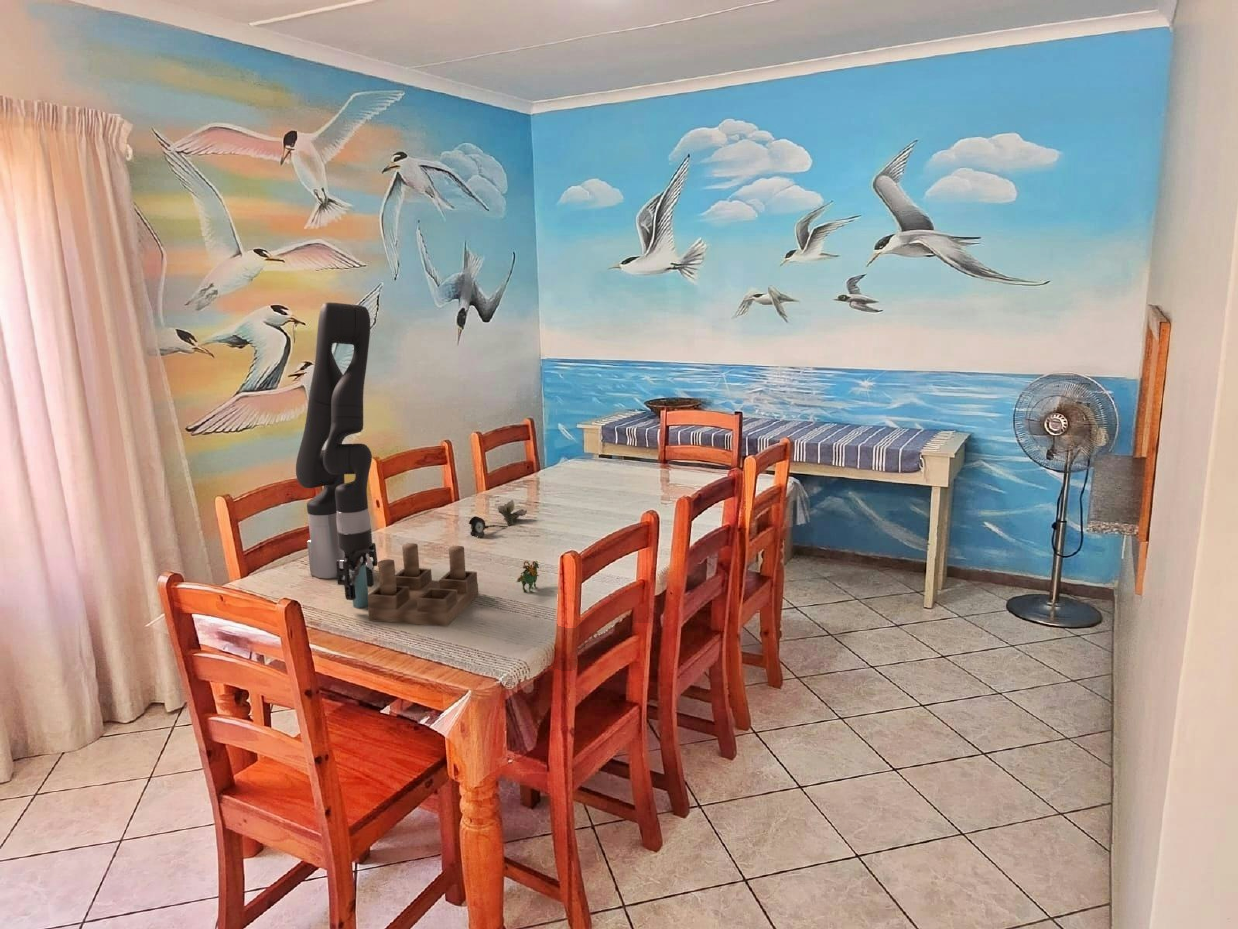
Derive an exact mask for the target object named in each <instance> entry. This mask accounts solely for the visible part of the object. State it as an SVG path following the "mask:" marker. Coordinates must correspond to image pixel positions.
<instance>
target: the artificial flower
mask: <svg viewBox="0 0 1238 929" xmlns="http://www.w3.org/2000/svg"><path fill="white" fill-rule="evenodd" d="M496 510H498V513H499V514H501V515H502V516H503V521H505V522H506V524H507V525H499V524H496V525H495V524H491V525H486V521H485V519H484V518H482V517H479V516H472V517H471V518H470V519H469V522H468V525H470V529H471V531H469V532H468V533H469V534H470V536H471V537H472V536H474V537H476V536H478V537H477V538H478V539H479V537H480V538H483V537H484V535H485V532H484V531H485V530H486V529H489V528H494V527H495V528H496V527H499V528H505V527H506V528H509V527H510V526H511V525H512V524H513V523H514V520H515V518H516V519H518V518H520V517H523V516H526V514H527V513H528V511H527V510H526V509H523V508H521V509H519V510H516V511H514V510H515V503H514V499H511V500H510V501H508V502H507V503H504V505H498V507H496ZM512 512H513V513H512ZM508 526H509V527H508Z"/></svg>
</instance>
